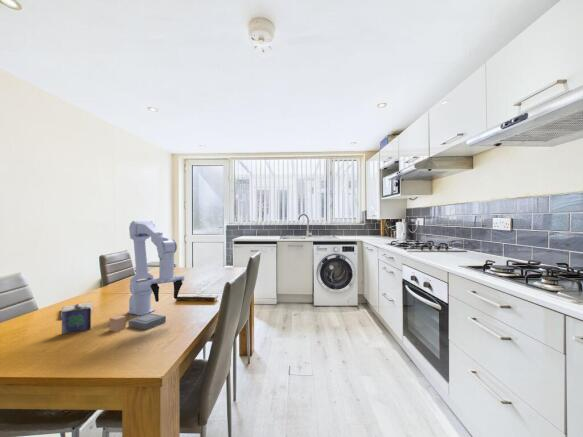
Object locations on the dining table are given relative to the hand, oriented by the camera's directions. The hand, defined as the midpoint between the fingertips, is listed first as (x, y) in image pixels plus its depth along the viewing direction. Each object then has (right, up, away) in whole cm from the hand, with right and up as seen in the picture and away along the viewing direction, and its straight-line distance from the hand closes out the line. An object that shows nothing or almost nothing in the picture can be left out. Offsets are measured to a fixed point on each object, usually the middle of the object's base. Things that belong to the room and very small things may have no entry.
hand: (166, 299), depth 120 cm
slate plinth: (-7, -10, -1) cm, 13 cm away
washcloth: (-50, -11, +14) cm, 53 cm away
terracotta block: (-17, -10, -7) cm, 21 cm away
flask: (-32, -10, -9) cm, 35 cm away
